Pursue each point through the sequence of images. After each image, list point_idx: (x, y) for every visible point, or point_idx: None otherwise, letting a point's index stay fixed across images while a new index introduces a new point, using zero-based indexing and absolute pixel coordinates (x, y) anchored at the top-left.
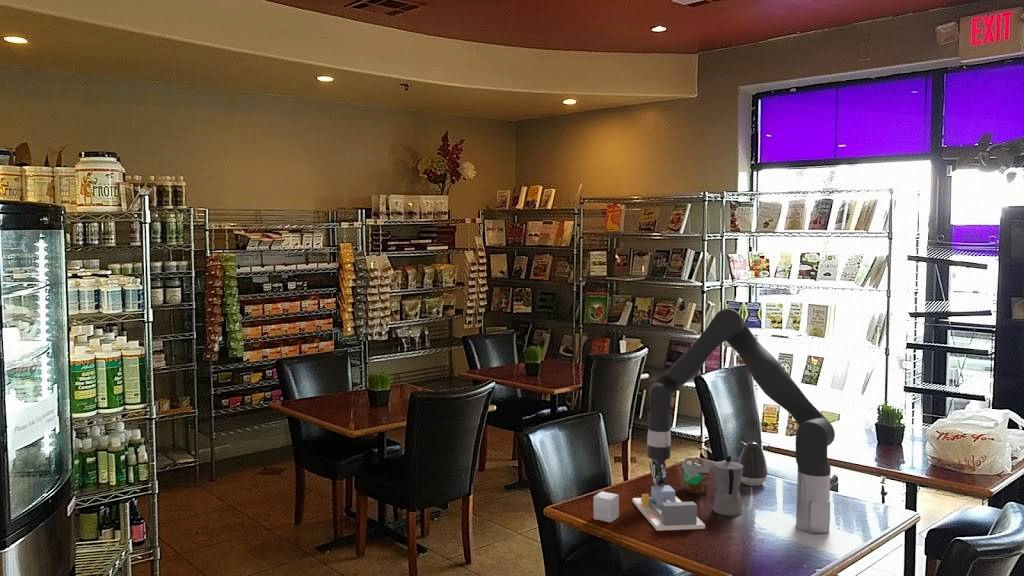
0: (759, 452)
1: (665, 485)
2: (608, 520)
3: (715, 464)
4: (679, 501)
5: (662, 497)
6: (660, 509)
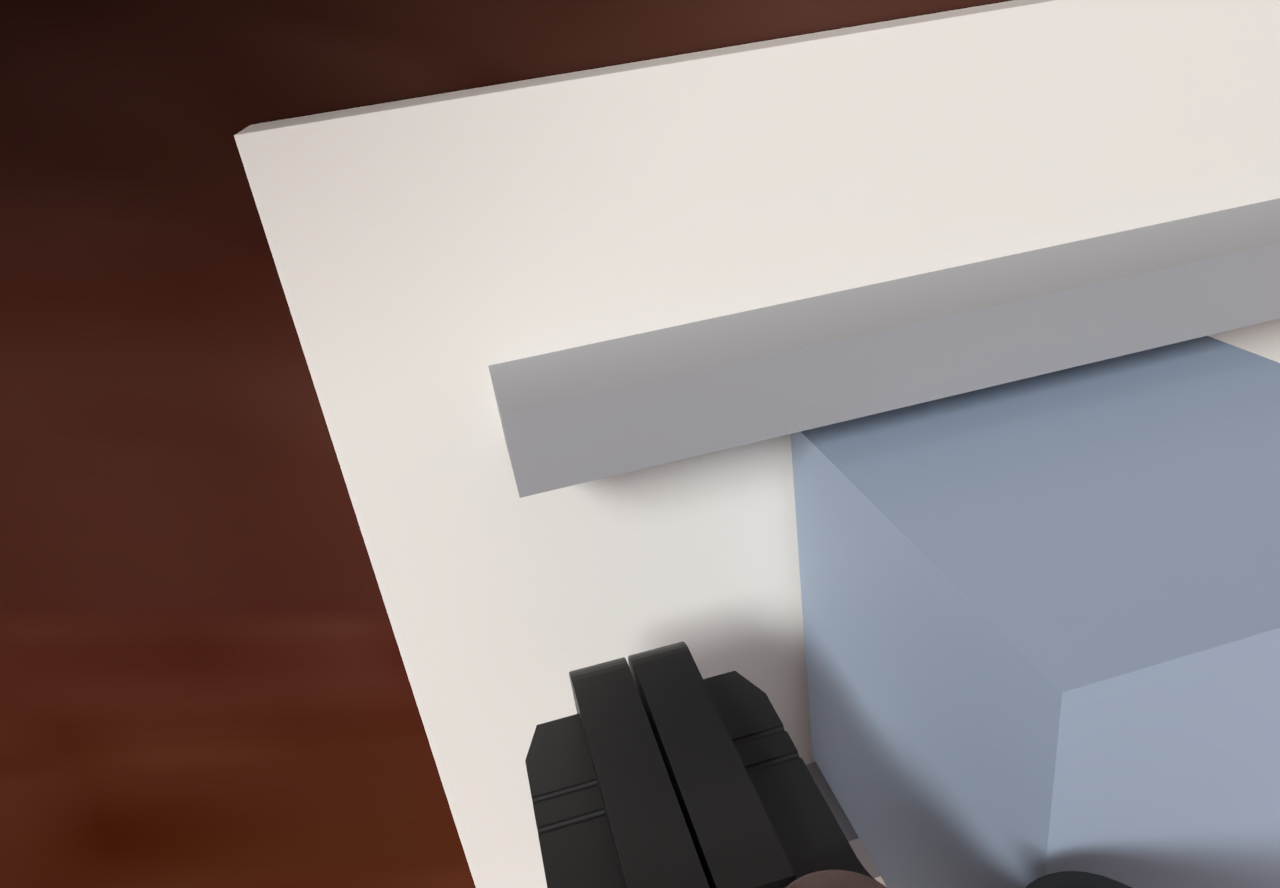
0: None
1: (1071, 808)
2: None
3: None
4: (694, 122)
5: None
6: None
